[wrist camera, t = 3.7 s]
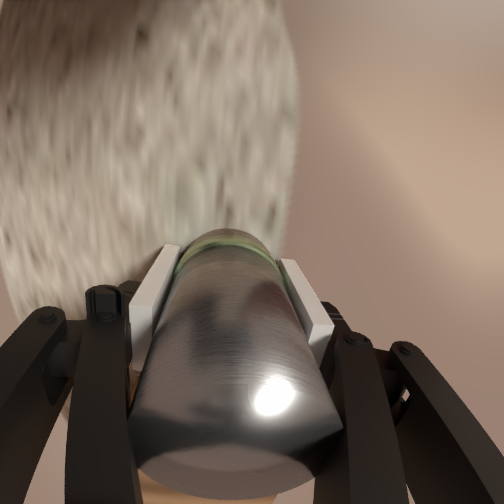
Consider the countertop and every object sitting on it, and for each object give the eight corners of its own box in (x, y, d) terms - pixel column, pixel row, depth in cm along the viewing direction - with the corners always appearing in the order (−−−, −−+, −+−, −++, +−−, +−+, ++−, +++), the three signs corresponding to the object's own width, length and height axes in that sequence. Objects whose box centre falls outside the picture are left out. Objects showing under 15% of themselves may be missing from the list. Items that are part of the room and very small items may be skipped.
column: (182, 220, 15) (102, 359, 4) (284, 233, 16) (383, 378, 5) (175, 312, 16) (133, 490, 6) (267, 322, 17) (311, 497, 7)
